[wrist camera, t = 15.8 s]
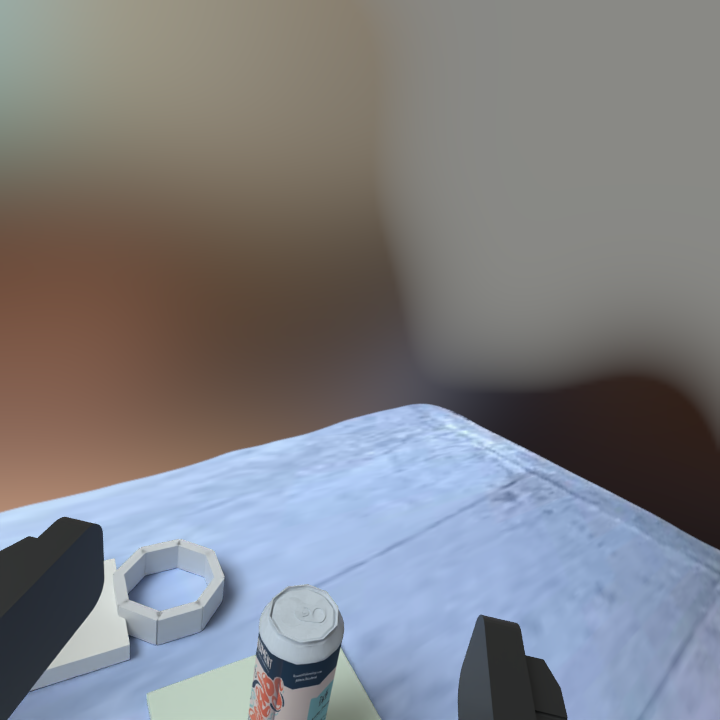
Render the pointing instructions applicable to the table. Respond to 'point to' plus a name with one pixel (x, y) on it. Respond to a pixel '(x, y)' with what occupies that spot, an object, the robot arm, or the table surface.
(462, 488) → the table surface
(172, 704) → the sage mat
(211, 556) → the charging dock
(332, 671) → the beer can
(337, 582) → the table surface
